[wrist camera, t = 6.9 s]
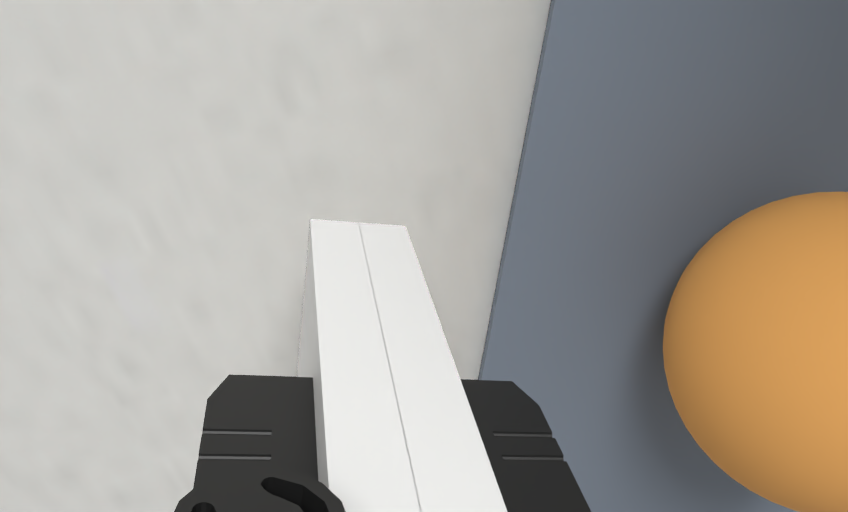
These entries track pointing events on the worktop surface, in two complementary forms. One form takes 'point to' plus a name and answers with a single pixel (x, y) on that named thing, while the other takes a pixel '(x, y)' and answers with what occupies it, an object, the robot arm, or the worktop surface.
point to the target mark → (651, 215)
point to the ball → (769, 351)
